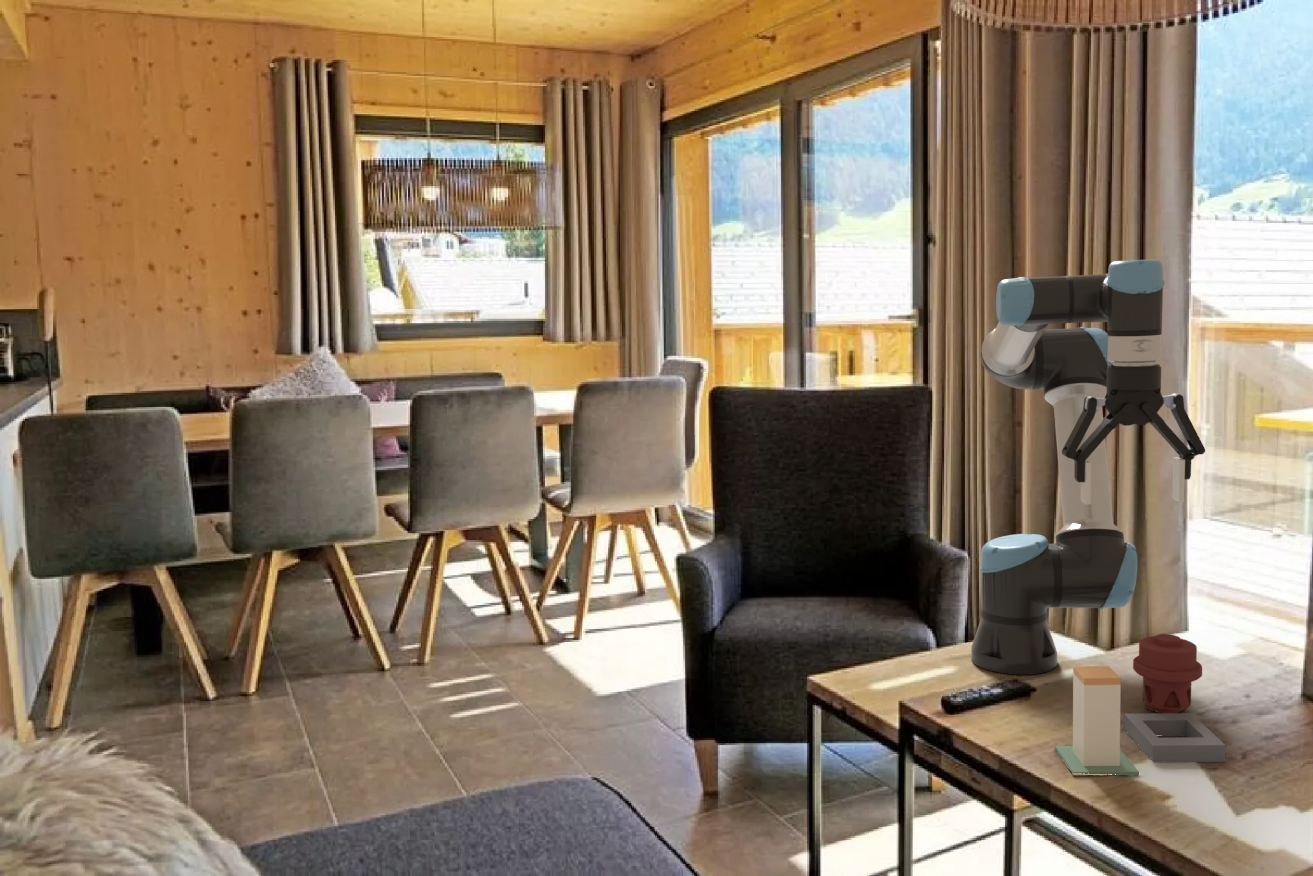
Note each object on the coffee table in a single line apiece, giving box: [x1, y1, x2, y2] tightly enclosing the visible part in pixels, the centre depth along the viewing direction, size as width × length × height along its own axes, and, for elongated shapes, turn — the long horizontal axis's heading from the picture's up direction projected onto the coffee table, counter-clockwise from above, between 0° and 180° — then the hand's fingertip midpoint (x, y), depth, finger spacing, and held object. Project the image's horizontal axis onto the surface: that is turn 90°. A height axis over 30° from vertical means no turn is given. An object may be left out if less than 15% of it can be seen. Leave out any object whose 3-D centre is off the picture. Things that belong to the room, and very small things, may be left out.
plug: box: [1072, 665, 1122, 766], centre depth 154 cm, size 5×5×13 cm
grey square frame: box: [1123, 712, 1226, 763], centre depth 160 cm, size 12×10×2 cm
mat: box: [1054, 745, 1140, 776], centre depth 155 cm, size 9×9×1 cm
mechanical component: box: [1132, 633, 1203, 713], centre depth 172 cm, size 12×10×10 cm
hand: (1131, 501), depth 164 cm, fingers open, 13 cm apart
